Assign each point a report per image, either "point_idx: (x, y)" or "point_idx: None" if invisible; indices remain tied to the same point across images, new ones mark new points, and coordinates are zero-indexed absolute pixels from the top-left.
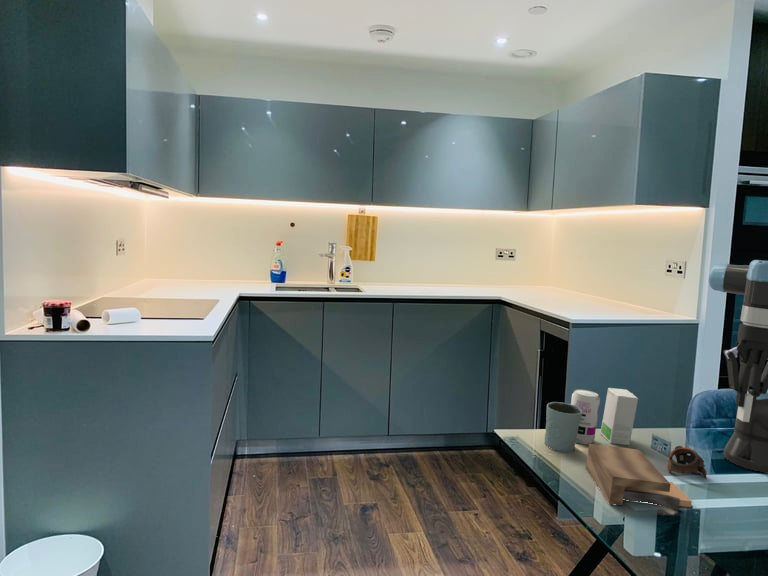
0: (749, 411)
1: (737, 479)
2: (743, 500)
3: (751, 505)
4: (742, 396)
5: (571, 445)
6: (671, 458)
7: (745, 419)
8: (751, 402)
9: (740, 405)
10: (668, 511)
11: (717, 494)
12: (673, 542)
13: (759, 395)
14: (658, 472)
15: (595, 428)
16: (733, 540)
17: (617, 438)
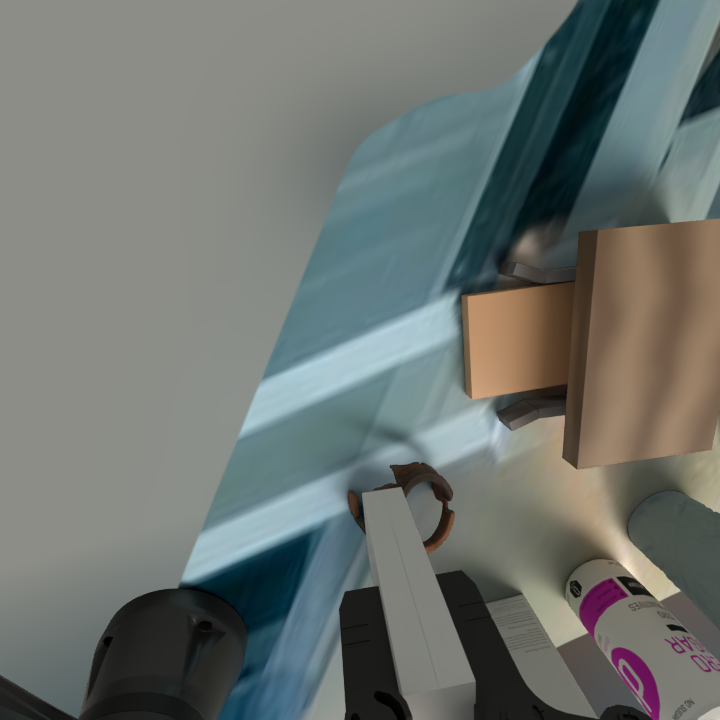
0: (383, 544)
1: (263, 519)
2: (298, 393)
3: (288, 371)
4: (492, 669)
5: (660, 509)
6: (446, 511)
7: (389, 498)
8: (393, 618)
9: (457, 581)
10: (531, 245)
11: (357, 402)
12: (592, 62)
13: (352, 712)
14: (595, 310)
15: (596, 609)
16: (426, 133)
17: (516, 610)
